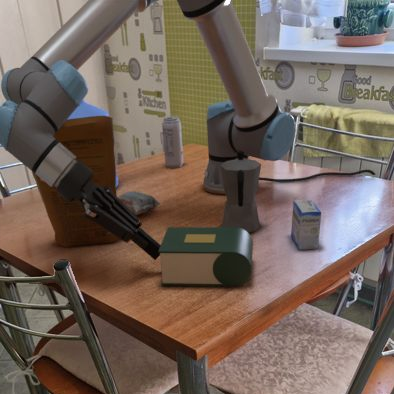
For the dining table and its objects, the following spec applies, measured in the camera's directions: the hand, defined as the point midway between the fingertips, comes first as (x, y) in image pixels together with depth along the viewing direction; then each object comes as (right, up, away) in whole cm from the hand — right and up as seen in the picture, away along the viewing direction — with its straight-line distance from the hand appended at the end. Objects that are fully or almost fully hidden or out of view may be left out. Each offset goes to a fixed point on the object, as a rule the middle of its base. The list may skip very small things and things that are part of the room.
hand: (159, 254), depth 107 cm
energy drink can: (0, +42, +66) cm, 79 cm away
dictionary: (+10, -4, +1) cm, 11 cm away
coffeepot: (+18, +10, +20) cm, 29 cm away
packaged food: (-9, +17, +33) cm, 38 cm away
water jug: (-24, +30, +52) cm, 64 cm away
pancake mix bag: (-18, +6, +18) cm, 26 cm away
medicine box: (+32, +4, +11) cm, 34 cm away
